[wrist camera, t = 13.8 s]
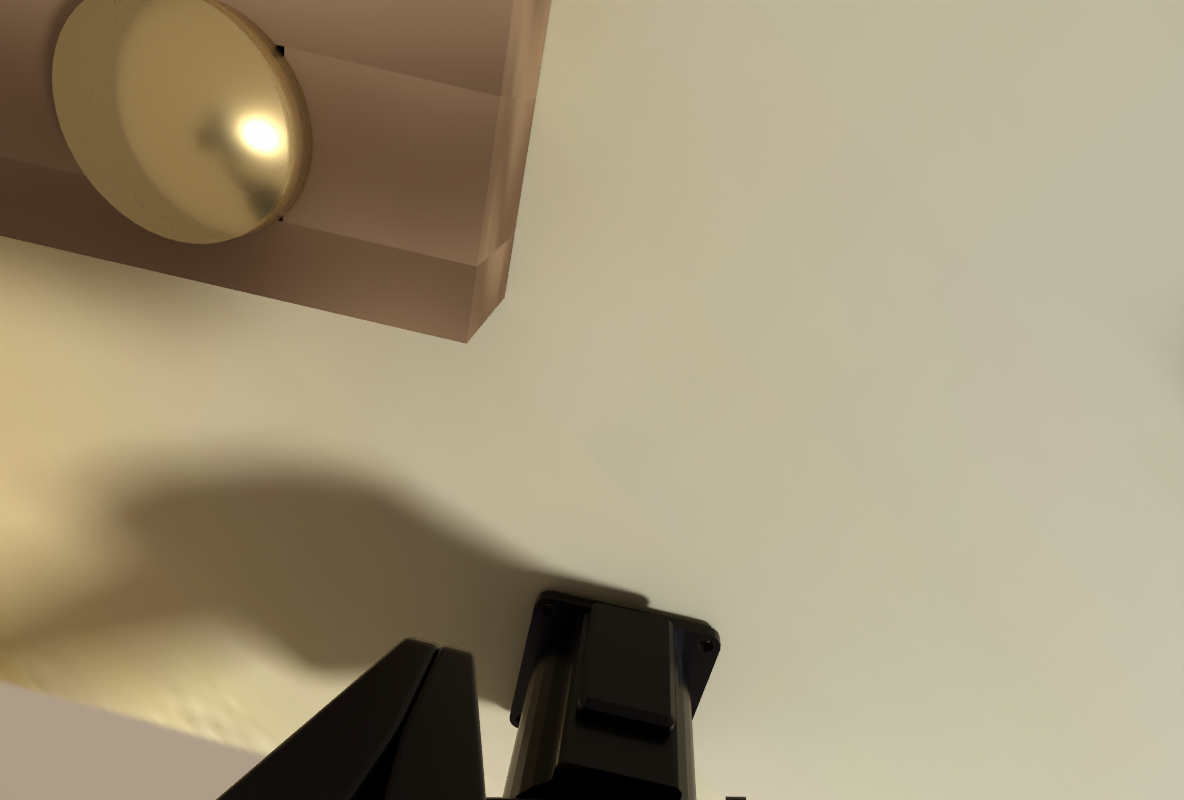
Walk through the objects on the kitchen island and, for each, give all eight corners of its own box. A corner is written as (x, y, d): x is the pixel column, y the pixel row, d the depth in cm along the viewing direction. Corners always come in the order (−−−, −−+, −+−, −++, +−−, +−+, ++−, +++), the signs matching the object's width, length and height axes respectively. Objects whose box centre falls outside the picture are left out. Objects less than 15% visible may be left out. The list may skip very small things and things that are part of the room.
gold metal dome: (377, 227, 18) (286, 266, 13) (213, 189, 18) (68, 215, 13) (391, 40, 16) (289, 13, 11) (206, -4, 16) (35, -46, 11)
